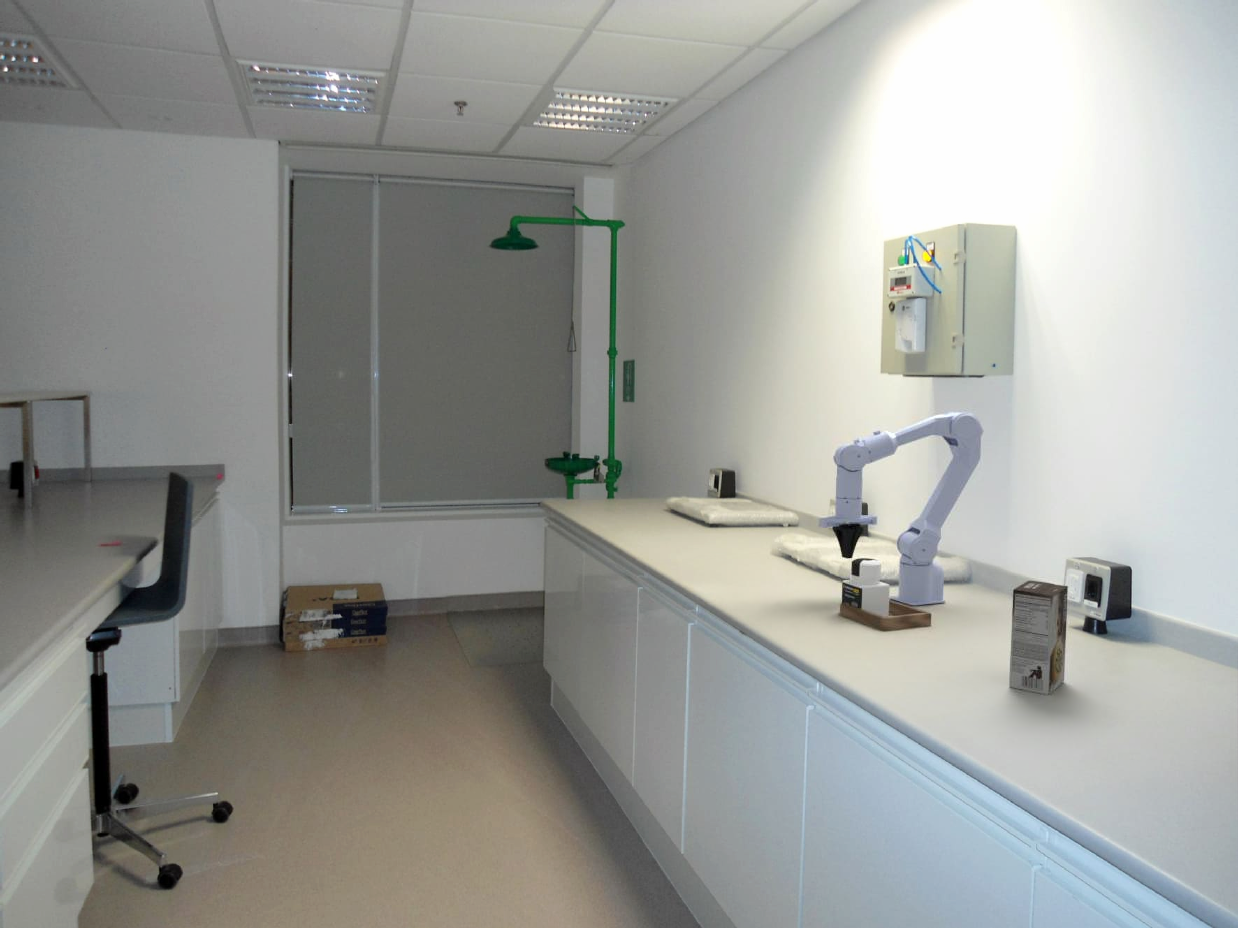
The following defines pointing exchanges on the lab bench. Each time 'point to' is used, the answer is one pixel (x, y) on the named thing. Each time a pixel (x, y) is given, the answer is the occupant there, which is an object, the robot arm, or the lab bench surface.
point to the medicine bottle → (866, 587)
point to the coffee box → (1038, 637)
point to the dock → (904, 618)
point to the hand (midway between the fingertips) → (847, 557)
